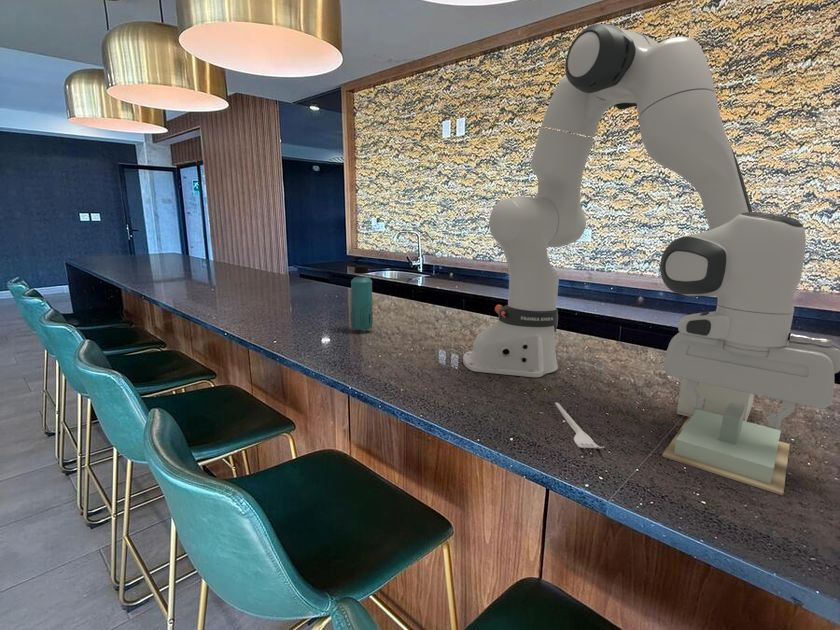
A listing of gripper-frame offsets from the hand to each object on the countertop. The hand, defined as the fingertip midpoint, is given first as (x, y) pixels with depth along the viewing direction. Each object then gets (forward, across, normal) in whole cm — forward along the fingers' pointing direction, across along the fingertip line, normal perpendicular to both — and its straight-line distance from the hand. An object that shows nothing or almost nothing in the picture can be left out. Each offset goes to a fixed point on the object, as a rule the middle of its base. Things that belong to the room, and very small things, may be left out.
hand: (733, 417), depth 67 cm
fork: (+6, +21, +8) cm, 23 cm away
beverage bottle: (+6, +94, -9) cm, 94 cm away
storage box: (+6, +4, -17) cm, 19 cm away
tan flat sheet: (+6, 0, 0) cm, 6 cm away
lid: (+5, 0, 0) cm, 5 cm away
